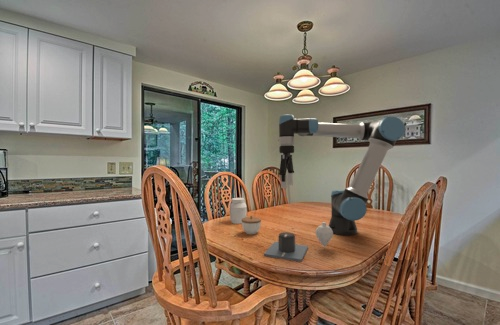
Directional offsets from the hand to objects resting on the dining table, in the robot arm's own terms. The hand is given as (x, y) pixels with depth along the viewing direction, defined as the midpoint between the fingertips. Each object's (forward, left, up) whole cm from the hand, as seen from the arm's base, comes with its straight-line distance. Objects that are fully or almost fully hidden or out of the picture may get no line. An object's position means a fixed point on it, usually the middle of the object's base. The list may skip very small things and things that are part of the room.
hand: (287, 186), depth 125 cm
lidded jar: (+21, -2, -27) cm, 34 cm away
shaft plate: (-4, +18, -27) cm, 32 cm away
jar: (+38, -21, -27) cm, 51 cm away
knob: (-4, +18, -26) cm, 32 cm away
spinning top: (-19, +8, -27) cm, 34 cm away
